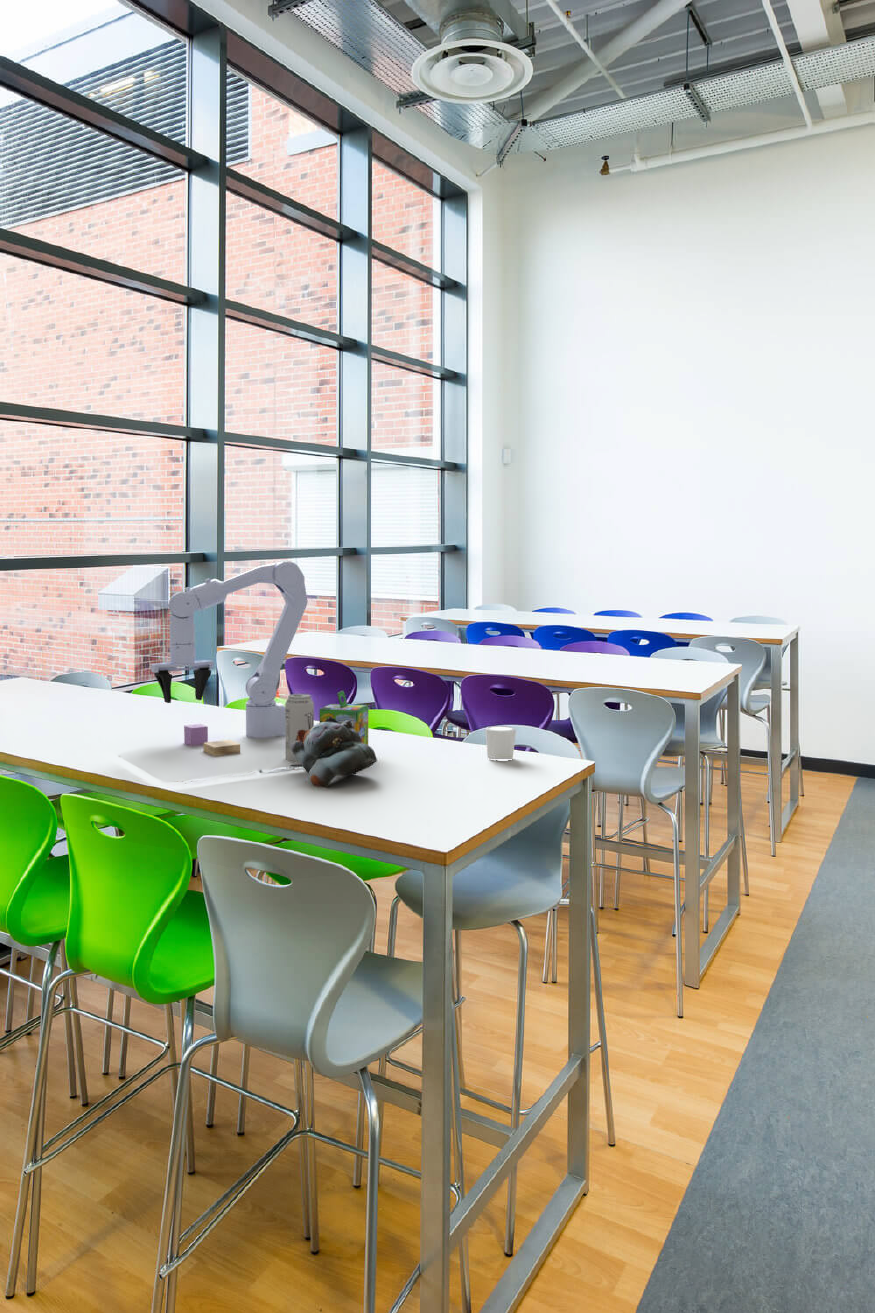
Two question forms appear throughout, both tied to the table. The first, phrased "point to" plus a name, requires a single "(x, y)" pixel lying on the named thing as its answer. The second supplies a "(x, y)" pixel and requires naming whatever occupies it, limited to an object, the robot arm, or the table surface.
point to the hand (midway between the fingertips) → (183, 701)
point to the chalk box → (348, 715)
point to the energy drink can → (297, 720)
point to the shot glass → (500, 742)
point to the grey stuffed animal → (331, 752)
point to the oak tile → (221, 747)
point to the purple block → (195, 734)
